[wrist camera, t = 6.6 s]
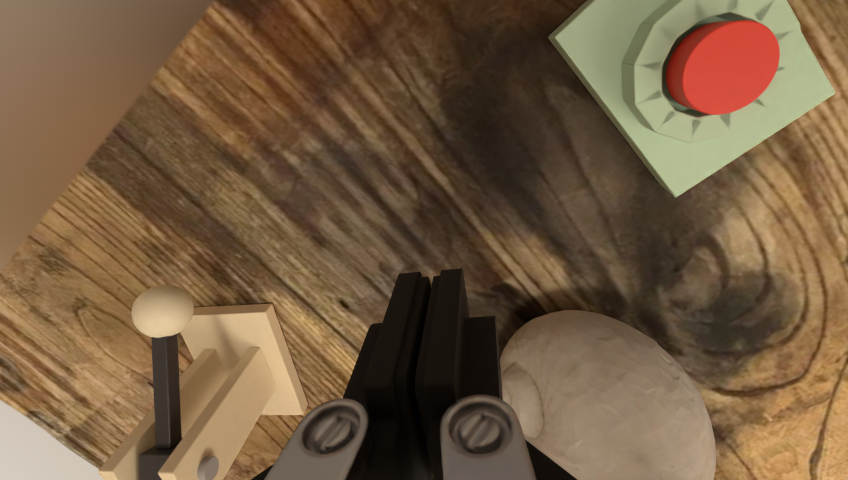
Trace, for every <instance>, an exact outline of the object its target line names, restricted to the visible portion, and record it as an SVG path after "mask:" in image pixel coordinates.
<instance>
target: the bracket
mask: <svg viewBox="0 0 848 480" xmlns="http://www.w3.org/2000/svg"><path fill="white" fill-rule="evenodd" d="M181 334H182V337H183V339H184V341H185V343H186V345H187V347H188V349H189V351H190V353H191V355H192V357H193V359H194V362H193V363H192V364H191V365H190V366H189V367H188V368H187V370H186V371H185V372H184V373H183V374H182V375H181V376H180V378H179V385H180V408H181V432H182V438H183V439H182V440H181V441H180V443H179V444H178V446H177V447H176V448H175V450H174V451H173V452H172V454H171V455H170V456H169V458H168V459H167V461H166V462H165V463H164V465H163V466H162V467H161V469H160V470H159V471H158V474H159V476H160V478H161V479H162V480H223V479H224V477H225V475H226V474H227V472H228V470H229V469H230V467H231V465H232V463H233V462H234V460H235V458H236V456H237V455H238V453H239V451H240V449H241V448H242V446H243V444H244V442H245V441H246V439H247V437H248V435H249V434H250V432H251V430H252V429H253V427H254V425H255V423H256V422H257V420H258V418H259V416H260V415H303V414H304V412H305V410H306V408H307V406H308V402H307V400H306V397H305V394H304V391H303V389H302V386H301V383H300V380H299V377H298V375H297V372H296V369H295V366H294V363H293V361H292V358H291V355H290V352H289V350H288V347H287V344H286V341H285V338H284V336H283V333H282V330H281V327H280V324H279V322H278V319H277V316H276V313H275V310H274V308H273V305H272V304H252V305H231V306H211V307H194V312H193V316H192V319H191V321H190V322H189V324H188V325H187V326H186V327H185V328H184V329H183V330H182V331H181ZM155 445H156V437H155V411H154V407H153V408H152V410H151V411H150V412H149V413H148V414H147V415H146V416H145V418H144V419H143V420H142V421H141V422H140V423H139V425H138V426H137V427H136V428H135V429H134V430H133V431H132V433H131V434H130V435H129V436H128V437H127V438H126V439H125V441H124V442H123V443H122V444H121V445H120V446H119V447H118V449H117V450H116V451H115V452H114V453H113V454H112V455H111V457H110V458H109V459H108V460H107V461H106V462H105V463H104V465H103V466H102V467H101V468H100V469H99V470H98V472H99V474H100V475H101V476H102V478H103V479H104V480H140V471H139V455H140V454H141V453H143V452H145V451H146V450H148V449H150V448H152V447H153V446H155Z"/></svg>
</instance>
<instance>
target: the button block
mask: <svg viewBox="0 0 848 480" xmlns="http://www.w3.org/2000/svg"><path fill="white" fill-rule="evenodd" d="M737 20H751V21H755V22H759V23H761V24H763V25H765V26H766V27H768V28H769V29H770V30H771V31H772V32H773V34H774V35H775V37H776V39H777V41H778V44H779V50H780V59H779V65H778V68H777V71H776V73H775V76H774V78H773V80H772V81H771V83H770V84H769V86H768V87H767V89H766V90H765V91H764V92H763V93H762V94H761V95H760V96H759V97H758V98H757V99H756V100H754V101H753V102H752V103H750V104H749V105H747V106H745V107H743V108H741V109H739V110H737V111H734V112H731V113H727V114H721V115H712V114H706V113H702V112H699V111H696V110H694V109H691V108H688V107H685V106H683V105H681V104H679V103H678V102H677V101H675V100H674V99H673V97H672V96H671V94H670V93H669V91H668V88H667V84H666V70H667V65H668V62H669V60H670V57H671V55H672V53H673V52H674V50H675V48H676V47H677V46H678V44H679V43H680V42H681V41H682V40H683V39H684V38H685V37H686V36H687V35H688V34H690V33H691V32H693V31H694V30H696V29H698V28H699V27H701V26H704V25H706V24H709V23H713V22H720V21H737ZM548 38H549V40H550V41H551V42H552V44H553V45H554V46H555V48H556V49H557V50H558V52H559V53H560V54H561V56H562V57H563V58H564V59H565V61H566V62H567V63H568V65H569V66H570V67H571V69H572V70H573V71H574V73H575V74H576V75H577V77H578V78H579V79H580V80H581V82H582V83H583V84H584V86H585V87H586V88H587V90H588V91H589V92H590V94H591V95H592V96H593V97H594V99H595V100H596V101H597V103H598V104H599V105H600V107H601V108H602V109H603V111H604V112H605V113H606V115H607V116H608V117H609V118H610V120H611V121H612V122H613V124H614V125H615V126H616V128H617V129H618V130H619V132H620V133H621V134H622V135H623V137H624V138H625V139H626V141H627V142H628V143H629V145H630V146H631V147H632V149H633V150H634V151H635V153H636V154H637V155H638V156H639V158H640V159H641V160H642V162H643V163H644V164H645V166H646V167H647V168H648V170H649V171H650V172H651V174H652V175H653V176H654V177H655V179H656V180H657V181H658V183H659V184H660V185H661V186H662V187H663V188H665V189H666V190H667V191H668V192H670V193H671V194H672V195H673V196H674V197H678V196H679V195H681V194H682V193H684V192H685V191H687V190H688V189H690V188H691V187H693V186H694V185H696V184H697V183H699V182H701V181H702V180H704V179H705V178H707V177H708V176H710V175H711V174H713V173H714V172H716V171H717V170H719V169H720V168H722V167H724V166H725V165H727V164H728V163H730V162H731V161H733V160H734V159H736V158H737V157H739V156H740V155H742V154H743V153H745V152H746V151H748V150H750V149H751V148H753V147H754V146H756V145H757V144H759V143H760V142H762V141H763V140H765V139H766V138H768V137H769V136H771V135H773V134H774V133H776V132H777V131H779V130H780V129H782V128H783V127H785V126H786V125H788V124H789V123H791V122H792V121H794V120H796V119H797V118H799V117H800V116H802V115H803V114H805V113H806V112H808V111H809V110H811V109H812V108H814V107H815V106H817V105H819V104H820V103H822V102H823V101H825V100H826V99H828V98H829V97H831V96H832V95H834V94H835V91H834V89H833V87H832V85H831V84H830V82H829V80H828V78H827V77H826V75H825V73H824V71H823V70H822V68H821V66H820V64H819V62H818V61H817V59H816V57H815V55H814V54H813V52H812V50H811V48H810V47H809V45H808V43H807V41H806V40H805V38H804V36H803V34H802V33H801V31H800V23H799V21H798V20H797V18H796V16H795V14H794V13H793V11H792V9H791V7H790V6H789V4H788V2H787V0H587V1H586V2H585V3H583V4H582V5H581V6H580V7H579V8H578V9H577V10H576V11H575V12H574V13H573V14H572V15H571V16H569V17H568V18H567V19H566V20H565V21H564V22H563V23H562V24H561V25H560V26H559V27H558V28H557V29H556V30H554V31H553V32H552V33H551V34H550V35H549V36H548Z"/></svg>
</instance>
